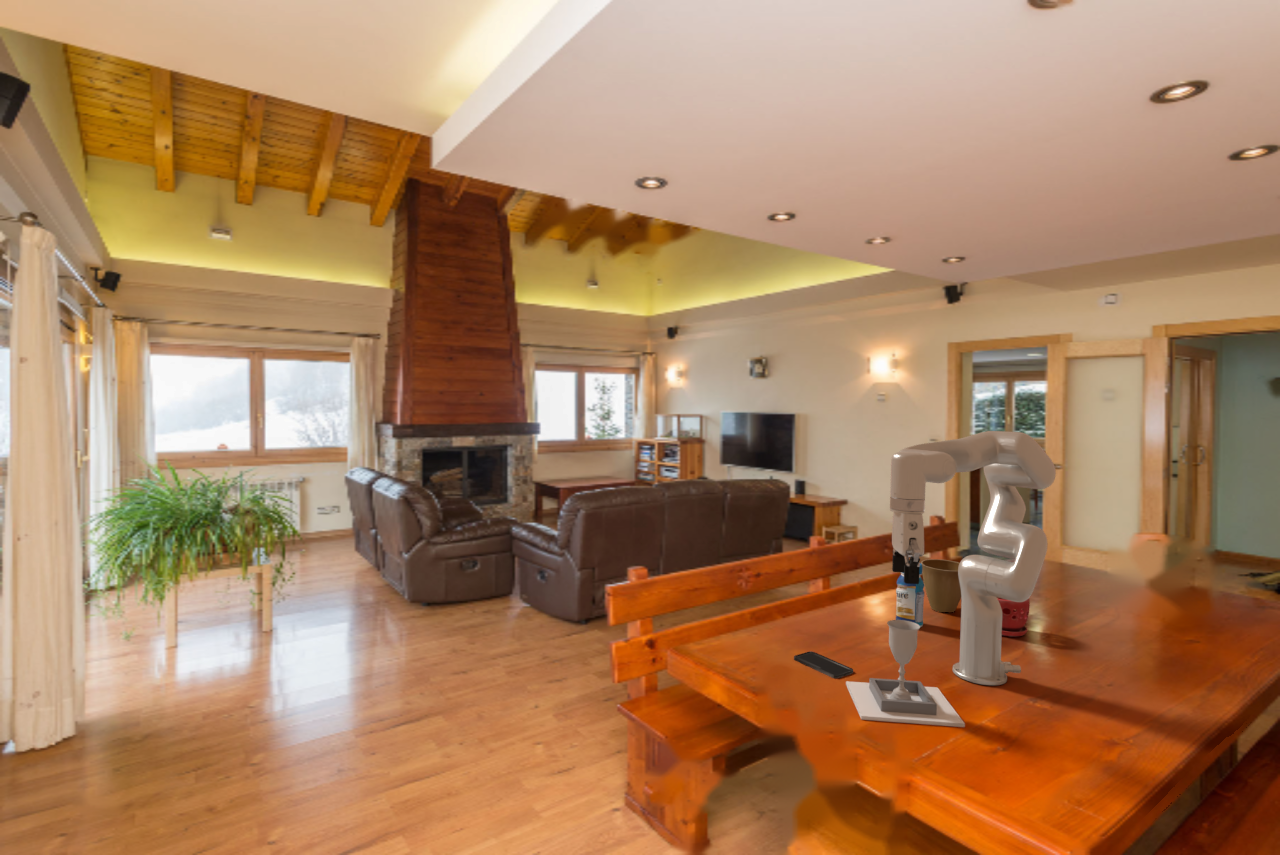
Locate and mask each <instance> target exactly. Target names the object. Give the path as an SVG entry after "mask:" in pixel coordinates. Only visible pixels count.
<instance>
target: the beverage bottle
mask: <svg viewBox="0 0 1280 855" xmlns="http://www.w3.org/2000/svg"><path fill="white" fill-rule="evenodd" d="M899 573H900V574H899V576H898V578H897V580H896V585H897V587H896V589H895V593H896V606H895V610H896V612H895V620H905V621H910V622H914V623H916V624H918V625H919V626H920V628H922V627H923V625H924V597H925V590H924V589H925V585H924V581H923V577H921V576H923V575H922V564H921V562H920V570H919V584H906V583H904V573H902V572H899Z"/></svg>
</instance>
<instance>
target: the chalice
mask: <svg viewBox="0 0 1280 855" xmlns="http://www.w3.org/2000/svg"><path fill="white" fill-rule="evenodd" d="M886 624H887V626H888V646H889V648H890V651H891V654H892V655H893V658H894V660H895V662H896V663H898V664H899V668H898V673H899V676H898V678H897V680H899V683H900V684H899V687H897V688H895V689H894V690H893V692H892V695H891V696H890V699H895V700H909V701H912V699H911V696H910V693H909V691H908V690H907V689H905V687H904V681H906V678H905V674H906V670H905V665H908V664H909V663H910V662H911V660H912V658H913V656H914V655H915V652H916V650H917V648H918V631H919V630H920V628H921V627H920V626H919V625H918V624H916V623H914V622H910V621H905V620H896V619H892V620H888V621H887V623H886Z"/></svg>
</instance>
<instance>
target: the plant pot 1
mask: <svg viewBox="0 0 1280 855" xmlns="http://www.w3.org/2000/svg"><path fill="white" fill-rule="evenodd" d="M920 563H921V564H922V575H921V576H922V580H923V582H924V589H925V590H924V591H925V593H926V597H927V600H928V603H929V607H930V608H931V610H932V609H933V610H932V611H934V610H935V611H934V612H937V611H939V612H938V613H941V612H953V613H955V612H956V610H957V608H958V605H959V604H960V600H961V588H960V582H959V577H958V567H959V564H960V562H958V561H953V560H947V559H938V558H937V559H935V558H934V559H933V558H931V559H924V560H922V561H921V562H920ZM954 611H955V612H954Z"/></svg>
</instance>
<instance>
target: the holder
mask: <svg viewBox="0 0 1280 855" xmlns="http://www.w3.org/2000/svg"><path fill="white" fill-rule="evenodd" d="M899 684H900V683H899V680H898V679H892V678H891V679H890V678H875V677H869V682H862V681H861V682H860V681H848V680H847V681H845V686H846V688H847V691H848V692H849V695H850V697H851V699H852V702H853V704H854V706H855V708H856V711H857V713H858V715H859V717H860V720H862V721H863V720H866V721H877V722H888V723H889V722H890V723H905V724H918V725H931V726H945V727H956V728H957V727H958V728H965V727H966V723H965V721H964V720H963V719H962V718H961V717H960V715H959V714H958V713H957V711H956V710H955V708H954V707H953V706H952V705H951V703H950V701H948V700H947V698H946V696H944V694H943V693H942V692H941V690H940V689H939V688H938V687H935V686H925V685H923V683H922V682H921V680H919V681H918V680H906V681H904V687H905V689H907V690H908V691H909V693H910V696H911V699H912V701H909V700H895V699H890V696H891V695H892V692H893V690H894V689H895V688H897V687H899Z"/></svg>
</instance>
